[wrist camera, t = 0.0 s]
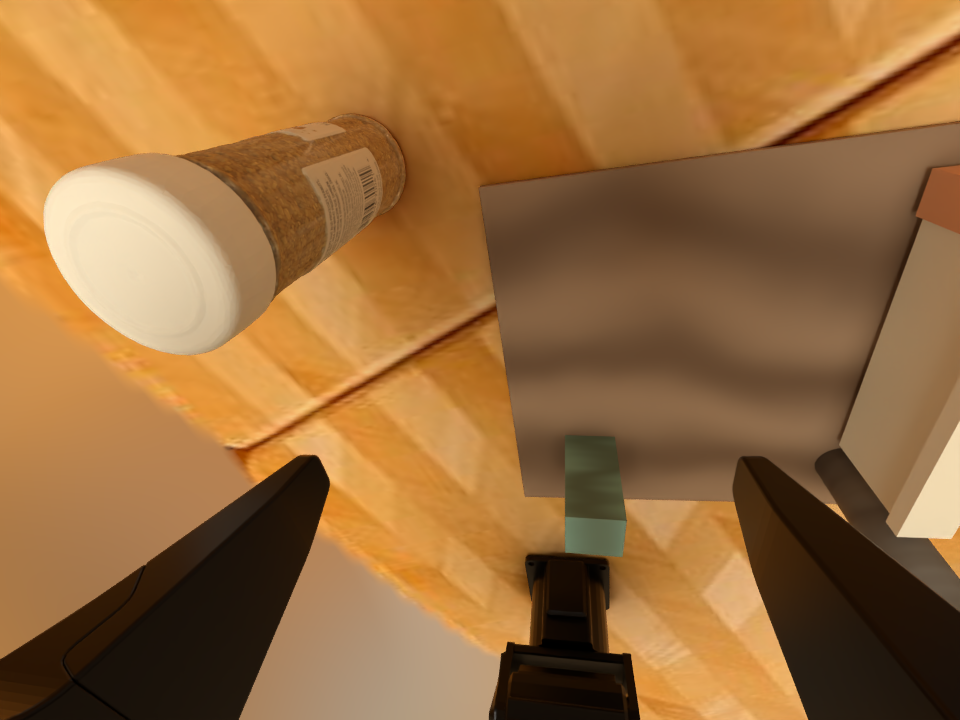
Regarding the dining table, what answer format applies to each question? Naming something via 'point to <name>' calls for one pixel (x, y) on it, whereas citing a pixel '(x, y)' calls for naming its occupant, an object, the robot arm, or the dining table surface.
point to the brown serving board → (706, 324)
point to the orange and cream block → (917, 380)
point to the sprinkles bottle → (216, 227)
